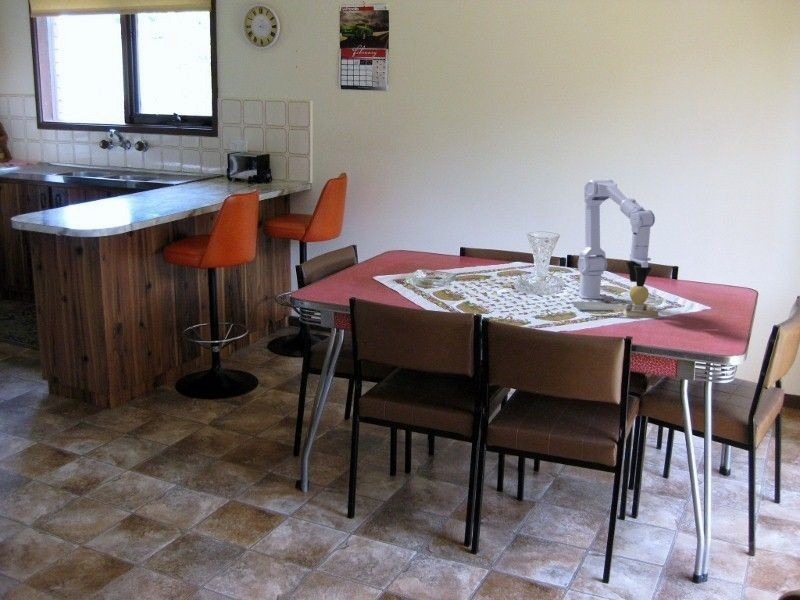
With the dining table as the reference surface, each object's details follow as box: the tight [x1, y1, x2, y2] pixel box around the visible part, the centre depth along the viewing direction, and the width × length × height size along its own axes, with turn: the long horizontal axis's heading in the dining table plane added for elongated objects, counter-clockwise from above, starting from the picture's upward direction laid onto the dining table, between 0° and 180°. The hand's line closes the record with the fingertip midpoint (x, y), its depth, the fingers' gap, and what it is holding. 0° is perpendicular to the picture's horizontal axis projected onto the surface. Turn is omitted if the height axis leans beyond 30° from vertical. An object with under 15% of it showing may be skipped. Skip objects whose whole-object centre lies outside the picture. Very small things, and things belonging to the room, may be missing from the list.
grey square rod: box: [585, 303, 632, 310], centre depth 293 cm, size 15×2×2 cm, turn 82°
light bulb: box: [629, 284, 650, 310], centre depth 296 cm, size 6×6×10 cm
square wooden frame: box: [617, 303, 659, 318], centre depth 297 cm, size 11×11×2 cm
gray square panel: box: [571, 301, 614, 312], centre depth 305 cm, size 12×12×1 cm
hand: (636, 284), depth 295 cm, fingers open, 7 cm apart
